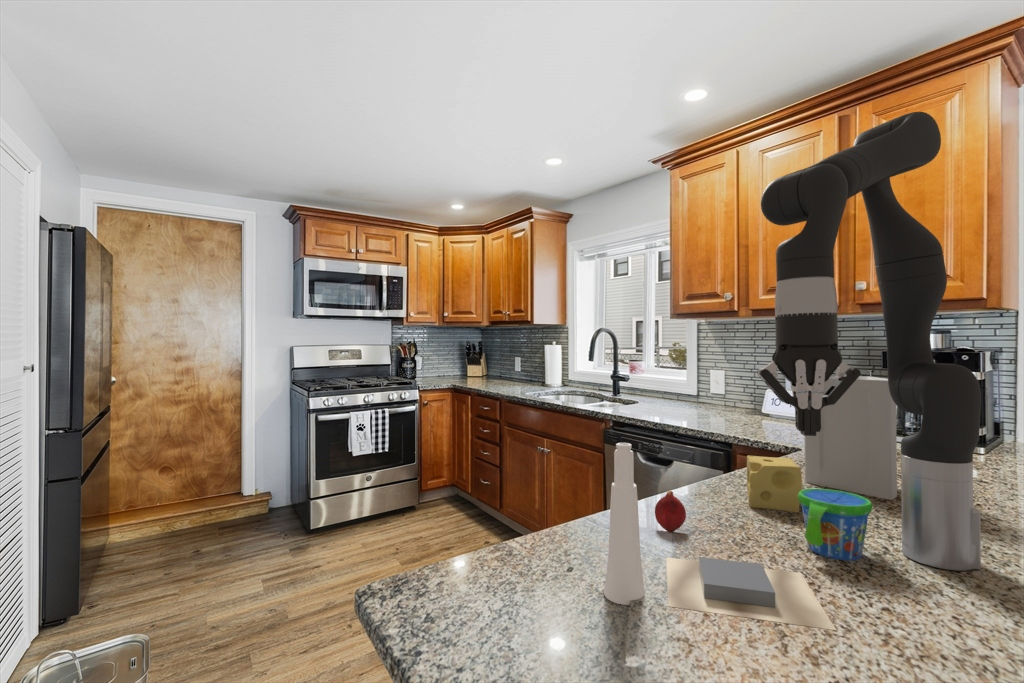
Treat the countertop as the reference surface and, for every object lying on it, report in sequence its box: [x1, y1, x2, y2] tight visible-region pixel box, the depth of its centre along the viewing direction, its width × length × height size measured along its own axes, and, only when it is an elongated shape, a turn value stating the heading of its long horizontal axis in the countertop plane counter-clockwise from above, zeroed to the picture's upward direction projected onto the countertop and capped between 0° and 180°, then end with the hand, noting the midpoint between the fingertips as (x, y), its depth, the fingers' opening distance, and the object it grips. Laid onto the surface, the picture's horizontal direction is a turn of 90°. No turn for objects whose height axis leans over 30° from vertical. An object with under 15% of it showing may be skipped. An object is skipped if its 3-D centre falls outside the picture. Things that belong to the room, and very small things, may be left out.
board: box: [665, 556, 837, 632], centre depth 71 cm, size 20×16×1 cm
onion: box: [654, 490, 687, 533], centre depth 95 cm, size 6×6×8 cm
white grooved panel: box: [803, 375, 898, 501], centre depth 127 cm, size 19×15×28 cm
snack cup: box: [798, 488, 874, 562], centre depth 84 cm, size 16×10×10 cm
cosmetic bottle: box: [603, 442, 646, 606], centre depth 71 cm, size 6×6×22 cm
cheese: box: [746, 455, 803, 513], centre depth 112 cm, size 10×11×10 cm
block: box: [698, 556, 775, 607], centre depth 71 cm, size 2×9×9 cm
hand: (808, 434), depth 69 cm, fingers closed
